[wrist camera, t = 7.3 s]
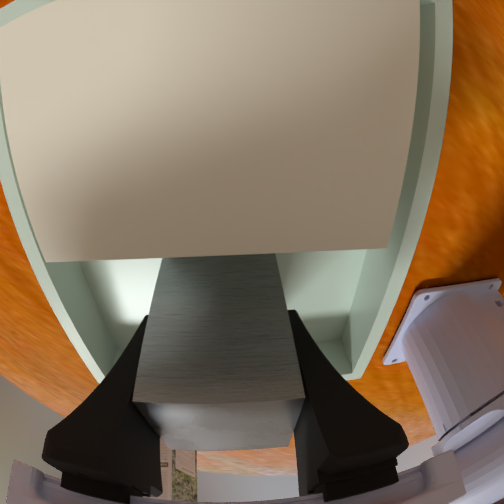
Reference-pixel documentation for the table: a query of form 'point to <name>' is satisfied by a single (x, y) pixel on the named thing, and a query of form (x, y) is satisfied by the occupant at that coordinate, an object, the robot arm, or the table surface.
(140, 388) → the tin
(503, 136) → the table surface
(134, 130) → the off-white block
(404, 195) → the pale green tray
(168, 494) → the syrup box
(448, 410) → the robot arm
